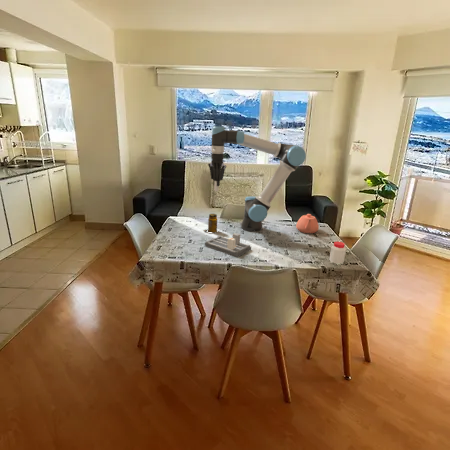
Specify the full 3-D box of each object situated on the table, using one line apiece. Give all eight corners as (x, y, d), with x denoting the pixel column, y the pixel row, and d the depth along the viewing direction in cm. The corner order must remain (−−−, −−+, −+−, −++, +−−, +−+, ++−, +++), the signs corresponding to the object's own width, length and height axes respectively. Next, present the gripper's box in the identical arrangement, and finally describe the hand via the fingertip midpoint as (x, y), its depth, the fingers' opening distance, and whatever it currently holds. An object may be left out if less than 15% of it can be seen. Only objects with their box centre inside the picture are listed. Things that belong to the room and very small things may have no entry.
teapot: (319, 237, 201) (322, 220, 197) (295, 235, 204) (297, 217, 200) (316, 227, 221) (319, 211, 217) (295, 225, 224) (297, 209, 220)
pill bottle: (328, 263, 163) (331, 244, 159) (329, 257, 170) (332, 239, 166) (343, 265, 160) (347, 246, 157) (343, 260, 167) (347, 242, 164)
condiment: (219, 232, 204) (219, 215, 200) (208, 234, 199) (209, 216, 195) (213, 228, 209) (214, 212, 206) (203, 230, 205) (203, 214, 201)
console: (204, 245, 179) (205, 232, 177) (219, 239, 190) (219, 227, 187) (237, 257, 165) (238, 243, 163) (251, 249, 176) (252, 236, 173)
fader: (227, 248, 171) (227, 238, 169) (230, 247, 173) (230, 237, 171) (232, 250, 169) (232, 240, 167) (235, 248, 171) (235, 238, 169)
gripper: (205, 152, 183) (204, 190, 191) (222, 154, 176) (220, 193, 183) (213, 151, 189) (212, 188, 196) (229, 153, 182) (228, 191, 189)
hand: (216, 190), depth 190 cm, fingers closed
